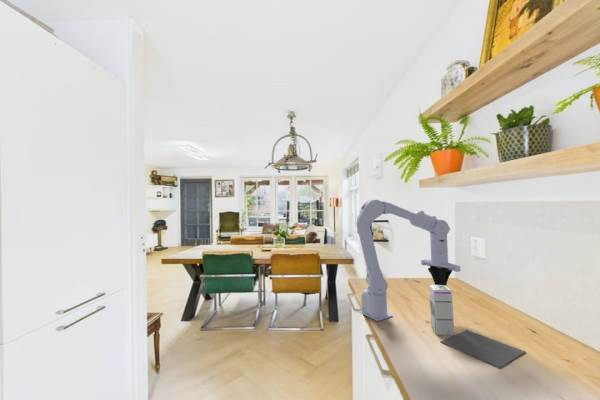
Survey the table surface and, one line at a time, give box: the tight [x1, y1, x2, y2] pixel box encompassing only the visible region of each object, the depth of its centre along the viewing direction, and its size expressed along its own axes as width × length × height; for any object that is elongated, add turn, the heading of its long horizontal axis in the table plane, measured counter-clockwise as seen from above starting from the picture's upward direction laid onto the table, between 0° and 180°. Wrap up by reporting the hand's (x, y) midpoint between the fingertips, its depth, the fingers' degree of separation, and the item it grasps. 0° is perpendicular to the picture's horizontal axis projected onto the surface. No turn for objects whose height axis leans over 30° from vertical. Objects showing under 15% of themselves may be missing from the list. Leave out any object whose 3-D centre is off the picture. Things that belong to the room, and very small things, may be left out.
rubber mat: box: [440, 329, 527, 369], centre depth 80 cm, size 16×14×1 cm
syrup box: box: [429, 284, 455, 337], centre depth 90 cm, size 6×6×14 cm
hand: (440, 287), depth 103 cm, fingers closed
